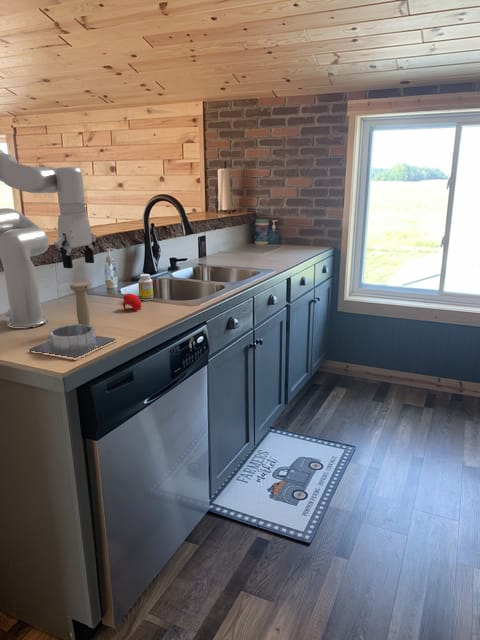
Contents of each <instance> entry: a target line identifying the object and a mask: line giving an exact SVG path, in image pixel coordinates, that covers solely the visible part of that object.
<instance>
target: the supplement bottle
mask: <svg viewBox="0 0 480 640" xmlns="http://www.w3.org/2000/svg"><path fill="white" fill-rule="evenodd" d="M137 282H138V296H139V297H138V298H139V299H140V301H142V300H143V302H148V301H149V302H150V301H153V299H154V287H153V286H154V285H153V279H151V274H149V273H142V274H139V280H138V281H137Z"/></svg>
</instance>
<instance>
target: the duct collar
mask: <svg viewBox="0 0 480 640" xmlns="http://www.w3.org/2000/svg"><path fill="white" fill-rule="evenodd" d="M48 337H49V340H47V341H45V342H42V343H40V344H39V345H36V346H33V347H30V348H29V349H28V351H29V350H30V351H35V352H42V353H49V354H55V355H61V356H67V357H73V358H77V357H79V356H82V355H84V354H86V353H88V352H90V351H92V350H94V349H96V348H99V347H101V346H104V345H106V344H108V343H110V342H113V341H114V340H116V338H114V337H108V336H101V335H96V329H95V326H93V325H91V324H90V325H85V324H79V323H78V324H77V323H75V324H66V325H62V326H57V327H55V328H53V329H50V331H48ZM116 341H117V340H116Z"/></svg>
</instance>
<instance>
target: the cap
mask: <svg viewBox="0 0 480 640" xmlns="http://www.w3.org/2000/svg"><path fill="white" fill-rule="evenodd" d="M122 299H123V301H122V306H123V309H124V311H126V310H127V308H126V307H127V306H126V305H128V306H131V307H132V309H133V310H134V311H135V312H137V310H140V311H141V309H142V300H140V298H139V297H138V296H137V295H136V294H134V293H126V294H124V296H123V298H122Z"/></svg>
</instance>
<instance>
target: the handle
mask: <svg viewBox="0 0 480 640" xmlns="http://www.w3.org/2000/svg"><path fill="white" fill-rule="evenodd" d="M69 286H70V287H69V288H70V290H72V291H73V292H74V293H75V300H76V301H75V302H76V303H75V304H76V317H77V323H78V324H85V325H91V315H90V307H89V300H88V292H87V291H88V289H90V288H91V282H89V281H88V282H87V281H82V282H81V281H80V282H75V283H71V284H70V285H69Z"/></svg>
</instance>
